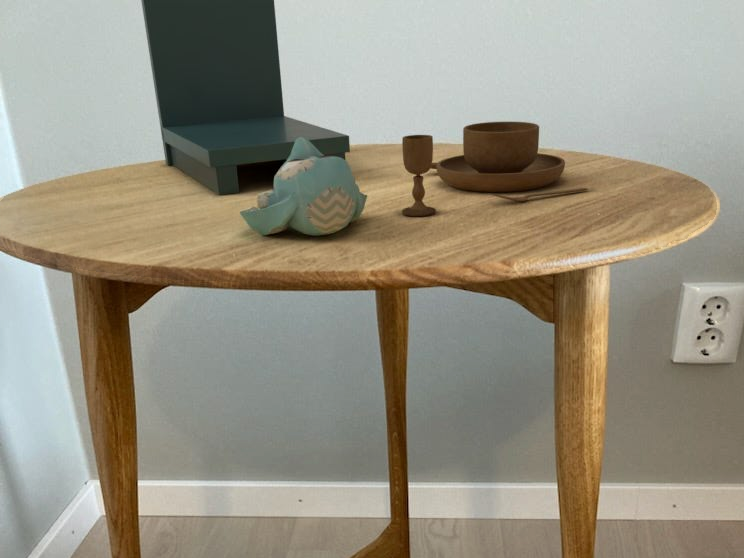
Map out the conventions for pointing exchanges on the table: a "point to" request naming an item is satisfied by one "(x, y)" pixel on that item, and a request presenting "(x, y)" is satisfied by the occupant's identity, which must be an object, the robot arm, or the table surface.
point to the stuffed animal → (308, 195)
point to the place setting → (485, 162)
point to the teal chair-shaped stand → (223, 89)
